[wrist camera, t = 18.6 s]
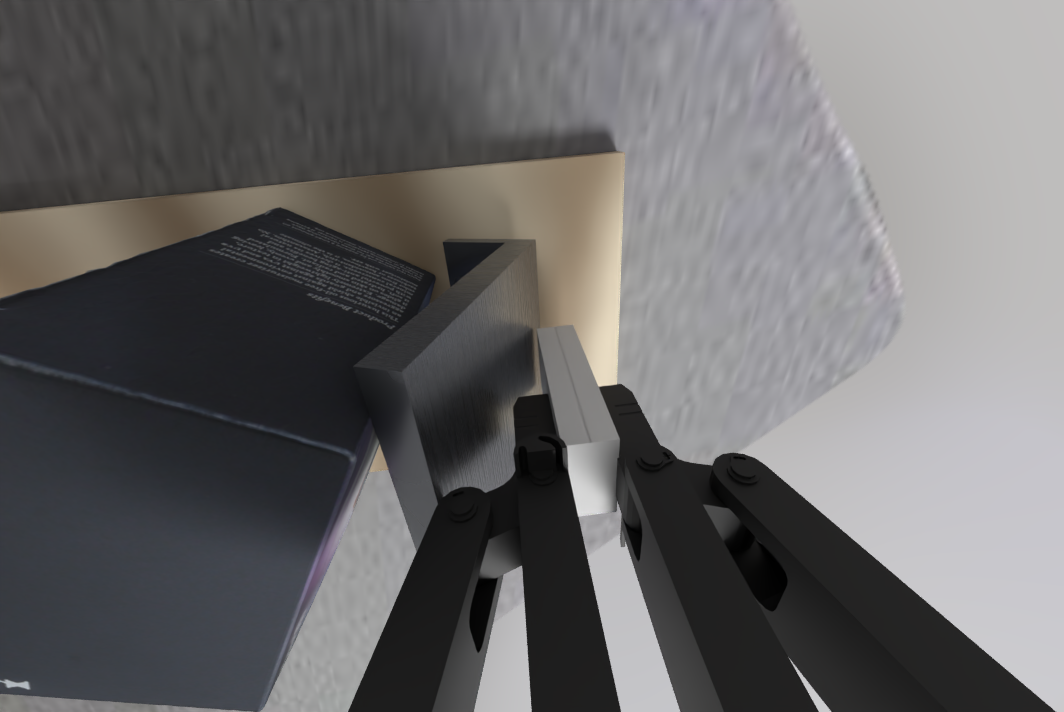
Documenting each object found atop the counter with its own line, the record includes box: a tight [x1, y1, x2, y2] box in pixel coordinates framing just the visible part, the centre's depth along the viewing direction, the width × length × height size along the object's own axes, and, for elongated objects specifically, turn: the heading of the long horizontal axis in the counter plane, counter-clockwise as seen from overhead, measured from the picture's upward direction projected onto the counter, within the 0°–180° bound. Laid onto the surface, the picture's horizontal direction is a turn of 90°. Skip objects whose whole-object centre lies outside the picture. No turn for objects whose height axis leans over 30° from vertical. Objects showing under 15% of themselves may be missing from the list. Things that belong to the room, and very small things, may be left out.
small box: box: [0, 207, 436, 712], centre depth 12 cm, size 11×6×10 cm, turn 154°
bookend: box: [353, 239, 543, 551], centre depth 13 cm, size 4×9×9 cm, turn 3°
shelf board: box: [0, 151, 625, 472], centre depth 17 cm, size 34×14×1 cm, turn 95°
